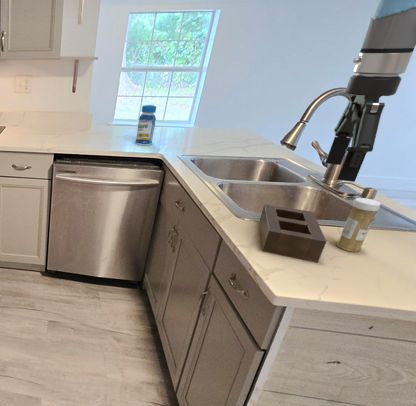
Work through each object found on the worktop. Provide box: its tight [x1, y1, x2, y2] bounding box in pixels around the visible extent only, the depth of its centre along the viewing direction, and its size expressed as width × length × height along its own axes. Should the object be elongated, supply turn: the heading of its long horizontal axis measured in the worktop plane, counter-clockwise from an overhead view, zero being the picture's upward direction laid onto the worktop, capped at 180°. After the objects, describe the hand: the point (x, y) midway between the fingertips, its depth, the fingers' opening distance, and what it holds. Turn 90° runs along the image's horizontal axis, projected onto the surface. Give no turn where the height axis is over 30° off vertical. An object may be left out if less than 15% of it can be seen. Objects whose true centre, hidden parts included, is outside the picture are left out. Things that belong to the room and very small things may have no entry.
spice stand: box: [258, 203, 327, 263], centre depth 98 cm, size 11×20×6 cm, turn 147°
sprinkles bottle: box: [336, 197, 382, 252], centre depth 92 cm, size 5×5×14 cm
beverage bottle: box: [135, 104, 157, 146], centre depth 193 cm, size 8×8×20 cm
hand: (338, 171), depth 84 cm, fingers open, 13 cm apart
